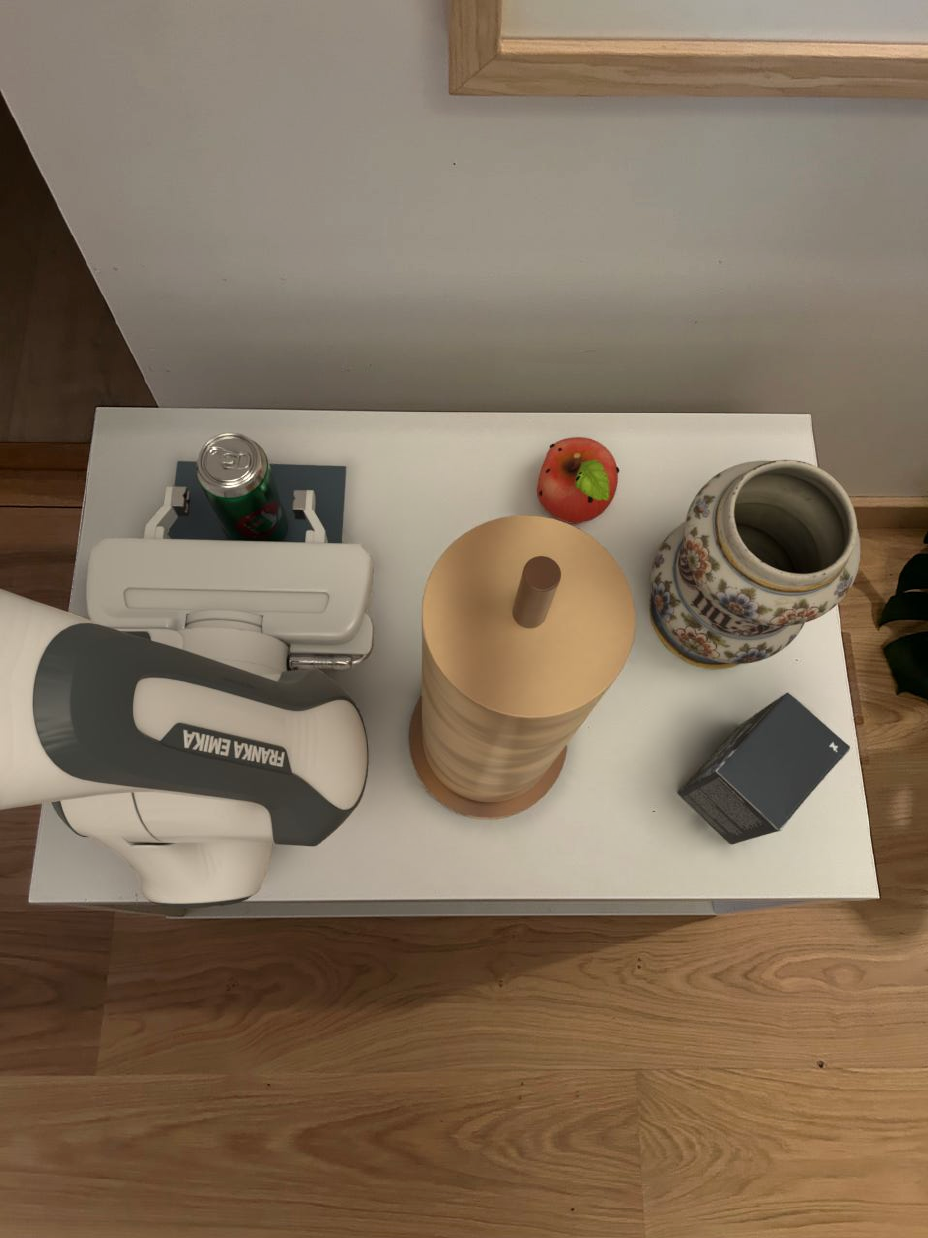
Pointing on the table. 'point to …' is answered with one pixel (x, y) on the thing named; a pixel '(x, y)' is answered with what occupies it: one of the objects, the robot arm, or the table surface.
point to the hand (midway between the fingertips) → (242, 491)
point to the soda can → (241, 489)
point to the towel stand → (514, 660)
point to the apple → (577, 480)
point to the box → (764, 771)
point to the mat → (287, 479)
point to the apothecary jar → (753, 563)
